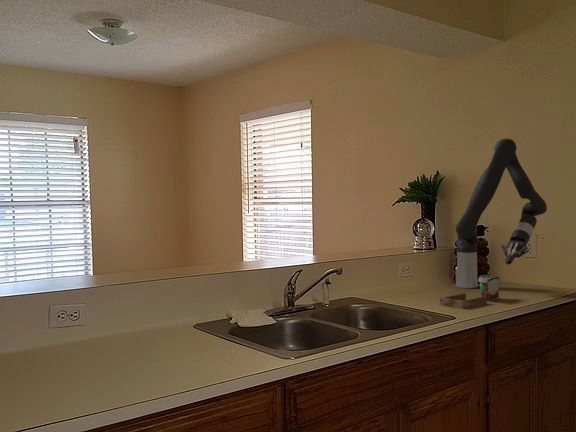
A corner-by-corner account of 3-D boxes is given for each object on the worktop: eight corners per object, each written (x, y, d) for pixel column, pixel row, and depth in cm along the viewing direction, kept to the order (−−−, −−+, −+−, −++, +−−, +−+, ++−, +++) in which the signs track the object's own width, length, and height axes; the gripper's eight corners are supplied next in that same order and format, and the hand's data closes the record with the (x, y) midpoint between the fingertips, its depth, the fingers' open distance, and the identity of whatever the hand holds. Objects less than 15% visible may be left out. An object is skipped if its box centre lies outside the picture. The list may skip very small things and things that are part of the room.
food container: (486, 296, 236) (486, 273, 236) (500, 298, 232) (499, 275, 231) (473, 300, 227) (472, 277, 227) (487, 302, 223) (486, 278, 223)
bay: (440, 305, 219) (440, 297, 219) (463, 300, 229) (463, 293, 229) (463, 309, 211) (463, 301, 210) (486, 303, 220) (486, 296, 220)
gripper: (505, 228, 250) (490, 256, 243) (532, 229, 239) (518, 258, 232) (511, 239, 253) (497, 267, 246) (539, 240, 242) (525, 269, 235)
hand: (507, 263), depth 239 cm, fingers closed
